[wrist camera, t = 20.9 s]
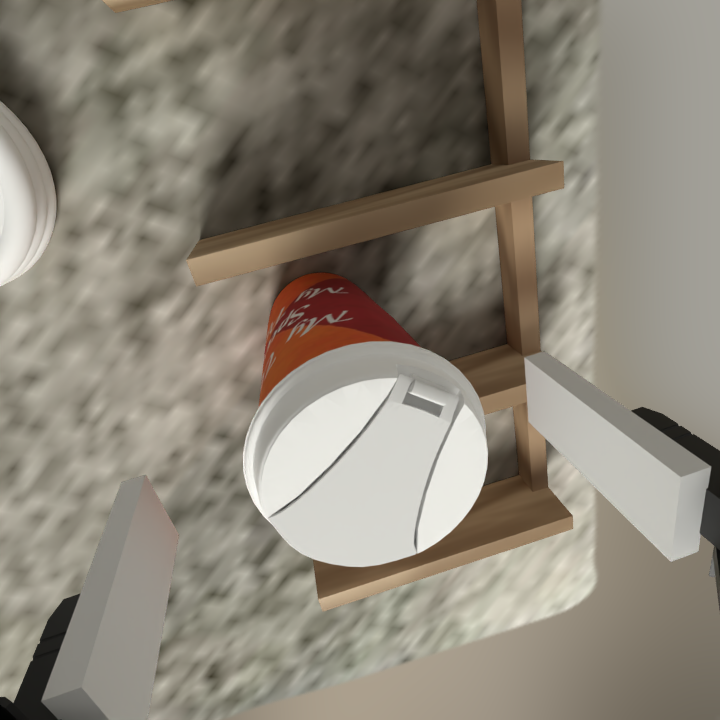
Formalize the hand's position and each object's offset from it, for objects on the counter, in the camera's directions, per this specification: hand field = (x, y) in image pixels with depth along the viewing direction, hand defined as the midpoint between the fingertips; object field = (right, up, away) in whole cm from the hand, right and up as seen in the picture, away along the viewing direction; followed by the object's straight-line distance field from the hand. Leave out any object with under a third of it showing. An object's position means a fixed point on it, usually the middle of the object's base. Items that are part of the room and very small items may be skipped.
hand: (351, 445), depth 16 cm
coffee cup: (-2, +5, +12) cm, 13 cm away
